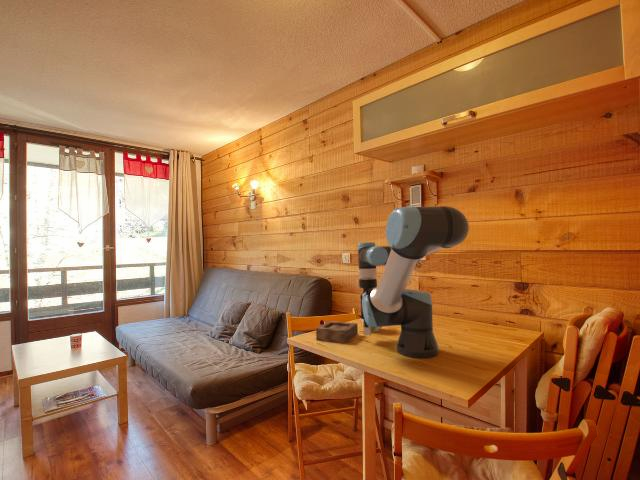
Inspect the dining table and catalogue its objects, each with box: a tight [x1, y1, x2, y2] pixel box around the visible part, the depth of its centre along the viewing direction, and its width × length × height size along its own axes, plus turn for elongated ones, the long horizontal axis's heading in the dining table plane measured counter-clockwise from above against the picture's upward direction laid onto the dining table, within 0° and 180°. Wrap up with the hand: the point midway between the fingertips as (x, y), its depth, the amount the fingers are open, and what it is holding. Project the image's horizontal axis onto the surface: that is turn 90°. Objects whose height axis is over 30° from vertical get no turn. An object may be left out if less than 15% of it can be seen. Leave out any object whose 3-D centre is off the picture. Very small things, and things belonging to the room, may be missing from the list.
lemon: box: [362, 320, 376, 334], centre depth 139 cm, size 6×6×8 cm
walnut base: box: [315, 320, 359, 344], centre depth 146 cm, size 14×14×5 cm
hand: (369, 332), depth 139 cm, fingers closed on lemon, 5 cm apart
